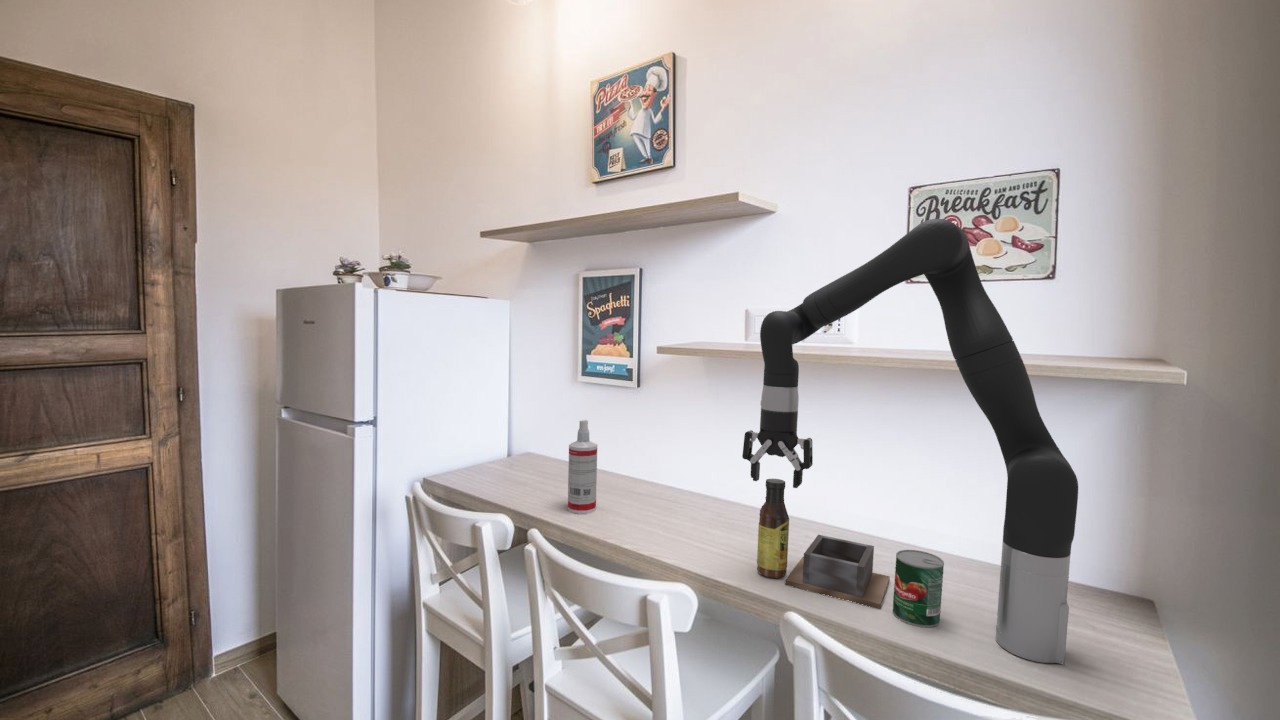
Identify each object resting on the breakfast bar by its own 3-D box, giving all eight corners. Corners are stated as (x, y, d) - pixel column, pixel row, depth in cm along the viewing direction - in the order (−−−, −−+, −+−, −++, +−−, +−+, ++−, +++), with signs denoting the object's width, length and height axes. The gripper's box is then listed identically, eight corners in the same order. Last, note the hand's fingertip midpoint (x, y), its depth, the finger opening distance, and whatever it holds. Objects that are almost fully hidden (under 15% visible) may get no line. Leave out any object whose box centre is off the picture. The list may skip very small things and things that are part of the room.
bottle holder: (889, 581, 119) (891, 548, 118) (880, 609, 107) (882, 573, 106) (802, 560, 128) (804, 530, 127) (784, 584, 116) (786, 551, 115)
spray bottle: (592, 514, 154) (594, 423, 153) (565, 513, 155) (567, 422, 153) (597, 505, 162) (599, 418, 160) (571, 504, 163) (573, 417, 161)
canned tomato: (886, 617, 104) (890, 558, 103) (899, 601, 110) (902, 545, 110) (934, 632, 99) (938, 571, 98) (944, 615, 105) (948, 557, 104)
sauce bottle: (785, 582, 117) (789, 486, 116) (754, 576, 119) (758, 483, 118) (788, 569, 123) (792, 478, 122) (759, 564, 125) (762, 475, 124)
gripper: (818, 408, 119) (814, 485, 120) (752, 401, 126) (749, 474, 127) (809, 413, 112) (805, 494, 113) (740, 405, 119) (737, 482, 120)
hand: (775, 483), depth 120 cm, fingers open, 8 cm apart
